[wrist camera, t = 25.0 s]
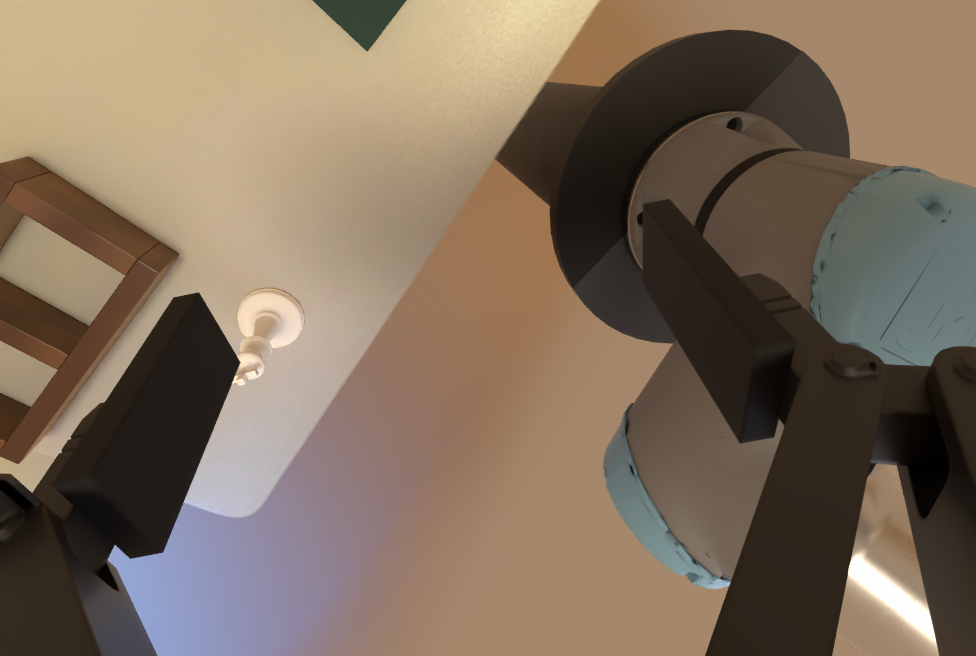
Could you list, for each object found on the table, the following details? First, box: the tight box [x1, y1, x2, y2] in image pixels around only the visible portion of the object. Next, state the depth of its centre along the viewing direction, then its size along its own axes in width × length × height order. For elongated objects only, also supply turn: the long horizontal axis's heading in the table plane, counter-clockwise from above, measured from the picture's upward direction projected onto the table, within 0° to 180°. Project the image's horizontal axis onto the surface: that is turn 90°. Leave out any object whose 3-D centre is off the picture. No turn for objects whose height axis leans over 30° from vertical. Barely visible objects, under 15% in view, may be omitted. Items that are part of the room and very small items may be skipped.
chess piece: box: [232, 288, 304, 386], centre depth 39 cm, size 5×5×10 cm
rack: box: [0, 157, 179, 464], centre depth 38 cm, size 10×20×4 cm, turn 137°
